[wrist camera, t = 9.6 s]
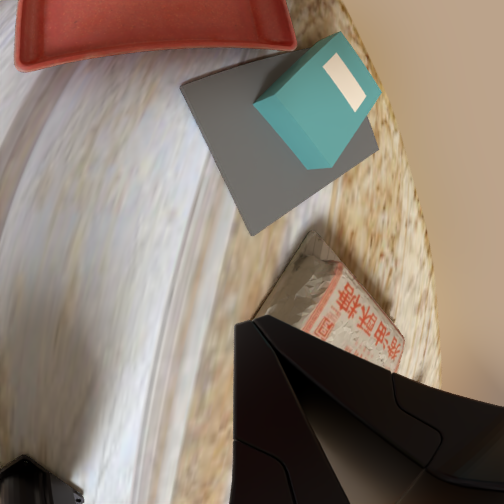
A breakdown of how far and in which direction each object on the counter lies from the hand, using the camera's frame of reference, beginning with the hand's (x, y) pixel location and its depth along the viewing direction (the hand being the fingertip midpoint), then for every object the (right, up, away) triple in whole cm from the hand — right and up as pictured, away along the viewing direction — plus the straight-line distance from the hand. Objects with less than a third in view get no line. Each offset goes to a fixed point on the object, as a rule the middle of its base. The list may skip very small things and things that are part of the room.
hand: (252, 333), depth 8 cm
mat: (+4, +12, +16) cm, 20 cm away
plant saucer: (-8, +22, +8) cm, 25 cm away
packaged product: (+7, -5, +22) cm, 23 cm away
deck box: (+3, +10, +14) cm, 17 cm away
